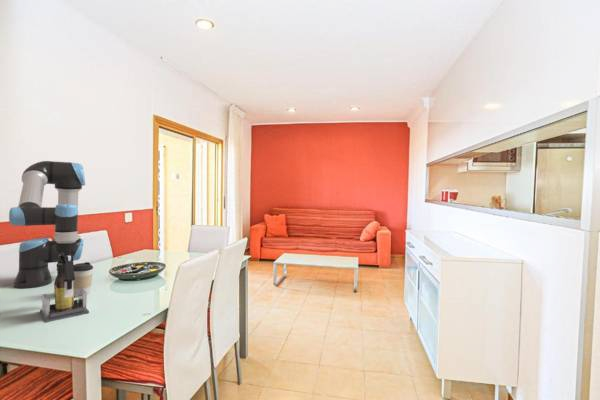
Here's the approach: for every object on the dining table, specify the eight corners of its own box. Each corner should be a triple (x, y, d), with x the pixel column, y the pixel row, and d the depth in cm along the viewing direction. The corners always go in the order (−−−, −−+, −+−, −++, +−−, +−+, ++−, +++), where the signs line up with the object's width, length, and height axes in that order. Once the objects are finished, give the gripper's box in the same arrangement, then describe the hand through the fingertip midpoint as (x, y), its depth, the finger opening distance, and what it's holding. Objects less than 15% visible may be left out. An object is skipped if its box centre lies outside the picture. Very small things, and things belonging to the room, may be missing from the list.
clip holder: (40, 311, 129) (40, 292, 129) (80, 303, 139) (80, 286, 139) (45, 322, 120) (46, 302, 119) (88, 313, 130) (89, 294, 130)
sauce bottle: (62, 307, 132) (60, 260, 131) (77, 306, 133) (76, 260, 132) (51, 313, 126) (49, 264, 125) (67, 313, 126) (66, 264, 125)
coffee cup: (80, 298, 145) (81, 266, 145) (64, 296, 147) (65, 265, 146) (97, 292, 154) (97, 262, 153) (81, 290, 156) (82, 261, 155)
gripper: (49, 238, 134) (48, 287, 135) (61, 247, 117) (59, 303, 118) (70, 236, 140) (69, 283, 140) (84, 245, 123) (83, 298, 123)
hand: (65, 292), depth 129 cm, fingers open, 13 cm apart
